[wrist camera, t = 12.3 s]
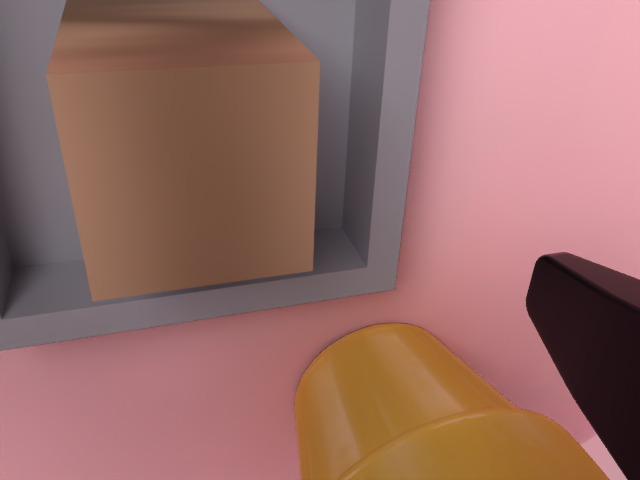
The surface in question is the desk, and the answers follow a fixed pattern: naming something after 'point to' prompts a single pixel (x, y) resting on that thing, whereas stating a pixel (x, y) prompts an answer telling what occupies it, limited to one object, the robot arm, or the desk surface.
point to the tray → (331, 176)
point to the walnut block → (185, 142)
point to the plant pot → (420, 417)
